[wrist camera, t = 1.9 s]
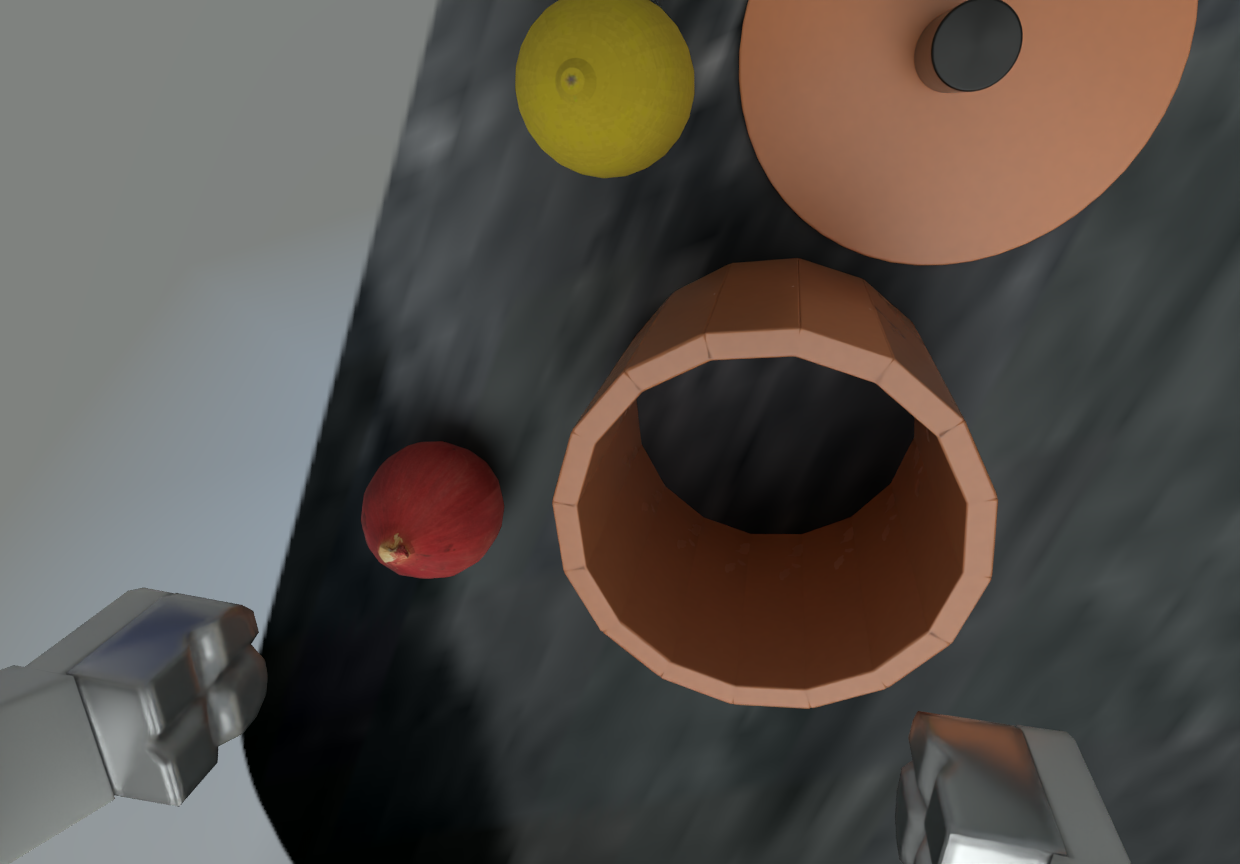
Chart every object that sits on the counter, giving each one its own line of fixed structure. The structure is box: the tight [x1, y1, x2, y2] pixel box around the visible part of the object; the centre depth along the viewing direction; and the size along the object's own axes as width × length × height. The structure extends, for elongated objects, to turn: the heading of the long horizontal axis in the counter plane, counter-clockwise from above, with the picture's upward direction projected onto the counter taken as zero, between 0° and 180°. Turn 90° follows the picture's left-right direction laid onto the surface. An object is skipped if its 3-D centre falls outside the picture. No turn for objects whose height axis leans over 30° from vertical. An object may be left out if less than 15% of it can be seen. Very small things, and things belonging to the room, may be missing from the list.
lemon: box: [515, 0, 694, 178], centre depth 25 cm, size 6×6×8 cm
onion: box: [361, 441, 504, 579], centre depth 33 cm, size 6×6×8 cm
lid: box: [739, 0, 1198, 265], centre depth 24 cm, size 14×14×5 cm
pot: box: [552, 258, 998, 709], centre depth 27 cm, size 13×13×10 cm
